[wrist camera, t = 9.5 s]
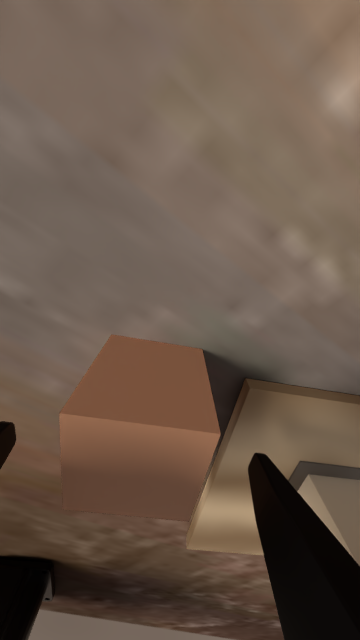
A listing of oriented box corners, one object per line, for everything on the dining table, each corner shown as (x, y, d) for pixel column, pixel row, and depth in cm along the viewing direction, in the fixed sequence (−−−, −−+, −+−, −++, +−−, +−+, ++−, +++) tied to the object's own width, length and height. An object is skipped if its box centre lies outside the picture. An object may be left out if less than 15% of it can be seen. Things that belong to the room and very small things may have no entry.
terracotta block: (184, 415, 12) (189, 521, 8) (106, 404, 12) (62, 510, 7) (202, 348, 11) (220, 434, 6) (111, 333, 10) (59, 413, 6)
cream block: (341, 521, 15) (414, 647, 11) (281, 516, 15) (329, 644, 10) (375, 481, 14) (478, 611, 9) (308, 474, 13) (379, 605, 8)
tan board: (363, 551, 19) (372, 565, 18) (186, 535, 17) (186, 550, 16) (498, 417, 13) (521, 430, 12) (245, 378, 11) (250, 389, 11)
